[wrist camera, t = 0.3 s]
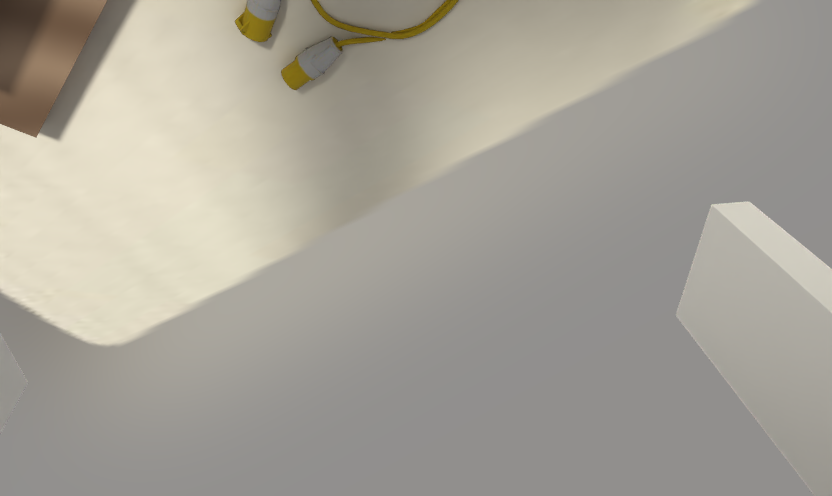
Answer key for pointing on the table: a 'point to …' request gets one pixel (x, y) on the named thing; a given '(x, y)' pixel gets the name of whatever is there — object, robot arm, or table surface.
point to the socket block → (39, 55)
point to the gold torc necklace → (323, 54)
